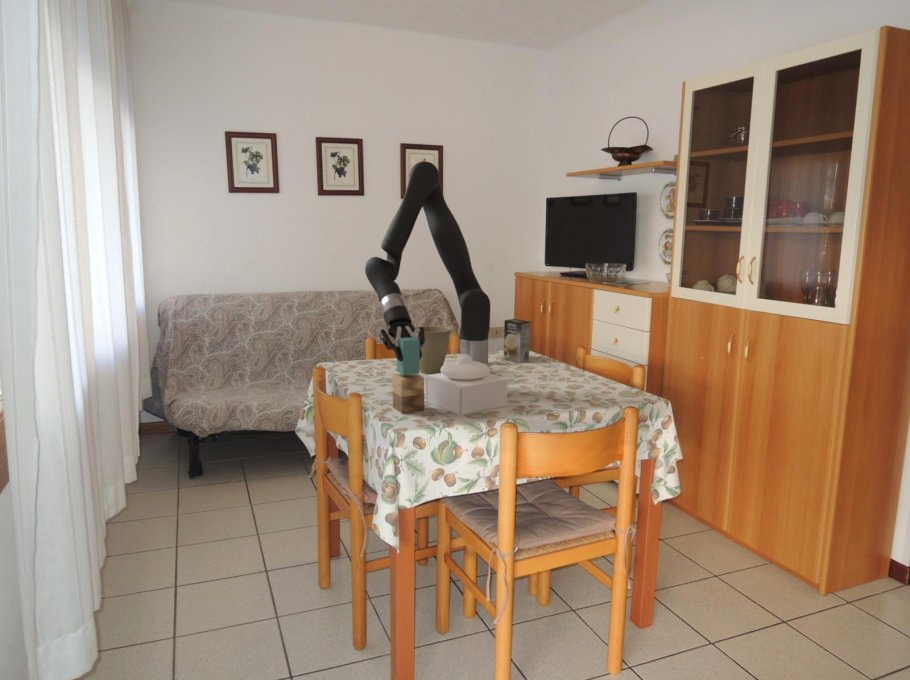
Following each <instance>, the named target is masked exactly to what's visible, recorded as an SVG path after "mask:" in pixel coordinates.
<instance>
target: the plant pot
mask: <svg viewBox="0 0 910 680" xmlns="http://www.w3.org/2000/svg"><path fill="white" fill-rule="evenodd" d="M414 327H415V328H420V327H423V328H424V336H425V343H424V344H423V347H422V348H421V351H422V357H421V358H420V360H419V373H422V374H427V375H431V374H438V373H441V371H440V369H441V367H442V366H443V365H444V364H445V360H446V357H447V353H448V348H449V344H450V340H451V339H450V338H451V332H452V331H451V330H452V329H451V328H450V327H447V326H446V327H445V326H438V325H434V326H433V325H431V326H430V325H427V326H426V325H425V326H424V325H423V326H422V325H421V326H414ZM414 335H415V336H416V338H417V339H418V336H417V335H416V333H415V332H414Z"/></svg>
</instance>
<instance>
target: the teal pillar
mask: <svg viewBox="0 0 910 680" xmlns="http://www.w3.org/2000/svg"><path fill="white" fill-rule="evenodd" d="M398 342H399V347H400V348H401V352H402V355H403V360H402V361H399V360H397V359H396V372H397V373H398V374H402V375H410V374H418V375H420V369H419V339H417V338H415V337H403V338H398Z"/></svg>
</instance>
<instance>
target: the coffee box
mask: <svg viewBox="0 0 910 680" xmlns="http://www.w3.org/2000/svg"><path fill="white" fill-rule="evenodd" d="M531 323H532V322H531V321H529V320H524V319H518V318H512V319H511V318H510V319H506V320H505V319H504V324H503V325H504V327H503V328H504V329H503V356H502V357H503V359H502V360H504V361H505V360H506V361H508V362H509V361H510V362H513V363H520V364H521V363H527V362H529V361H530V352H531V351H530V350H531V349H530V347H531V329H532V328H531Z"/></svg>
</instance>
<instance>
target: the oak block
mask: <svg viewBox="0 0 910 680" xmlns="http://www.w3.org/2000/svg"><path fill="white" fill-rule="evenodd" d="M393 392H395V393H396V394H398V395H399V396H401V397H405V396H414V395H423V394H424V395H425V377H424V376H422V375H420V374H410V375H402V374H400V373H396V374H392V393H393Z"/></svg>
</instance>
